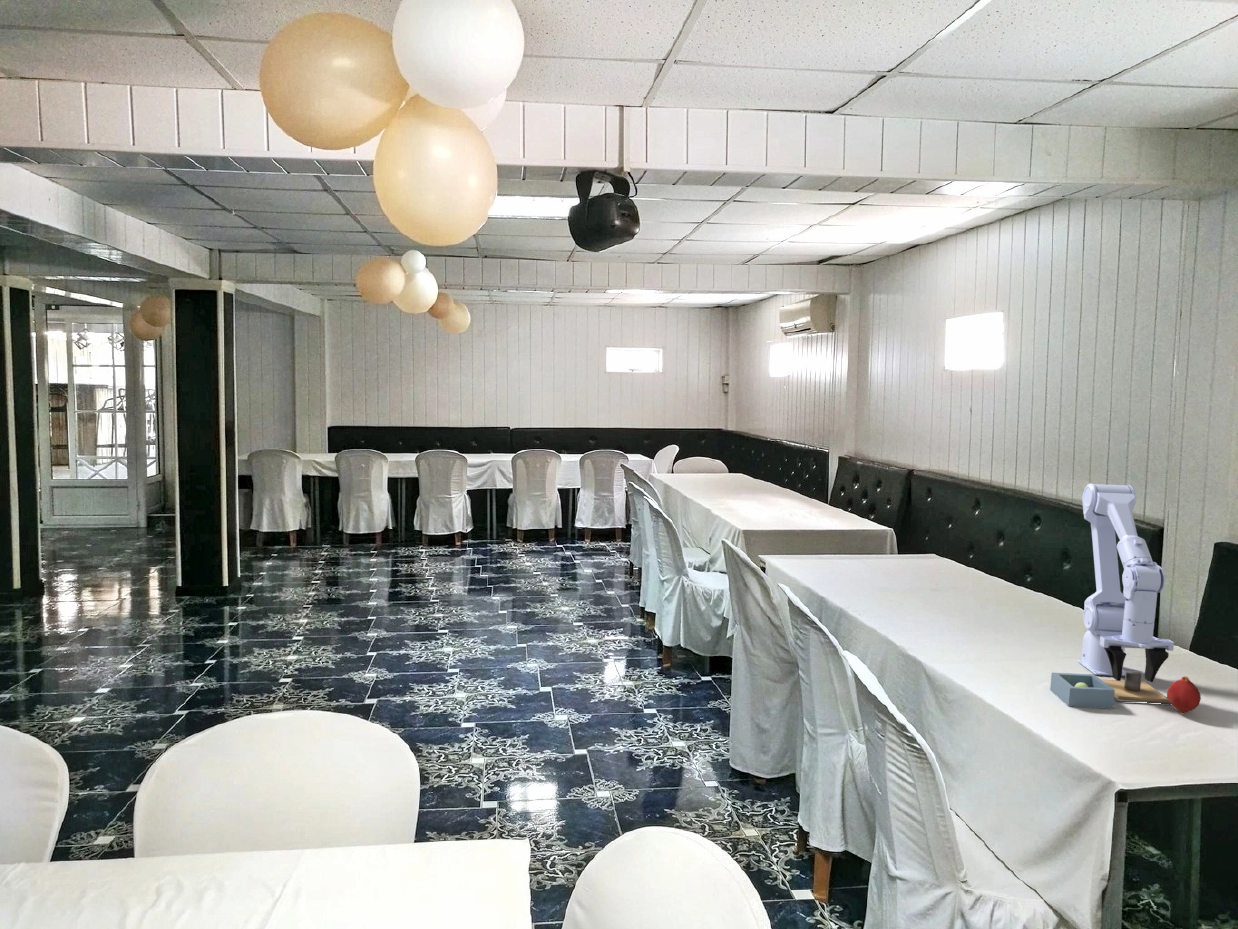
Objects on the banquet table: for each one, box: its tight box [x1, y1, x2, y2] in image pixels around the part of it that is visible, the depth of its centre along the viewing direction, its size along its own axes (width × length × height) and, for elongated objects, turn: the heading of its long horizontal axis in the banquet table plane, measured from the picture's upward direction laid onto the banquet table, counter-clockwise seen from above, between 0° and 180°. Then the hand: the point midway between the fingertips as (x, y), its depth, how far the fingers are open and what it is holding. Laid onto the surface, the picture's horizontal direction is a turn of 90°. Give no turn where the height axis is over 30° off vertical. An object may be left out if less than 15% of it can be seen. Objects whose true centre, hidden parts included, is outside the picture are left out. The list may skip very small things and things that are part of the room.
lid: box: [1100, 670, 1168, 702], centre depth 186 cm, size 10×10×4 cm
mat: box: [1114, 686, 1171, 704], centre depth 187 cm, size 12×12×1 cm
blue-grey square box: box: [1049, 672, 1115, 709], centre depth 182 cm, size 9×9×4 cm
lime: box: [1075, 682, 1088, 687], centre depth 182 cm, size 3×3×3 cm
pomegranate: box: [1166, 675, 1202, 714], centre depth 176 cm, size 6×6×8 cm
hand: (1132, 680), depth 186 cm, fingers open, 6 cm apart
